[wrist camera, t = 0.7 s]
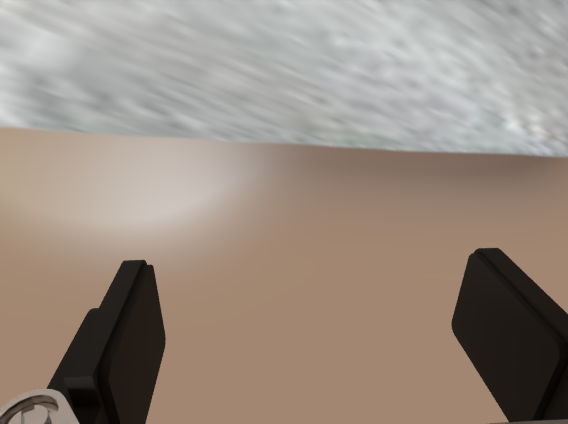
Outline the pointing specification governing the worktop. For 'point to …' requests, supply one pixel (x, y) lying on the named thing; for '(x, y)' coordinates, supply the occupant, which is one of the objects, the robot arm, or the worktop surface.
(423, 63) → the worktop surface
